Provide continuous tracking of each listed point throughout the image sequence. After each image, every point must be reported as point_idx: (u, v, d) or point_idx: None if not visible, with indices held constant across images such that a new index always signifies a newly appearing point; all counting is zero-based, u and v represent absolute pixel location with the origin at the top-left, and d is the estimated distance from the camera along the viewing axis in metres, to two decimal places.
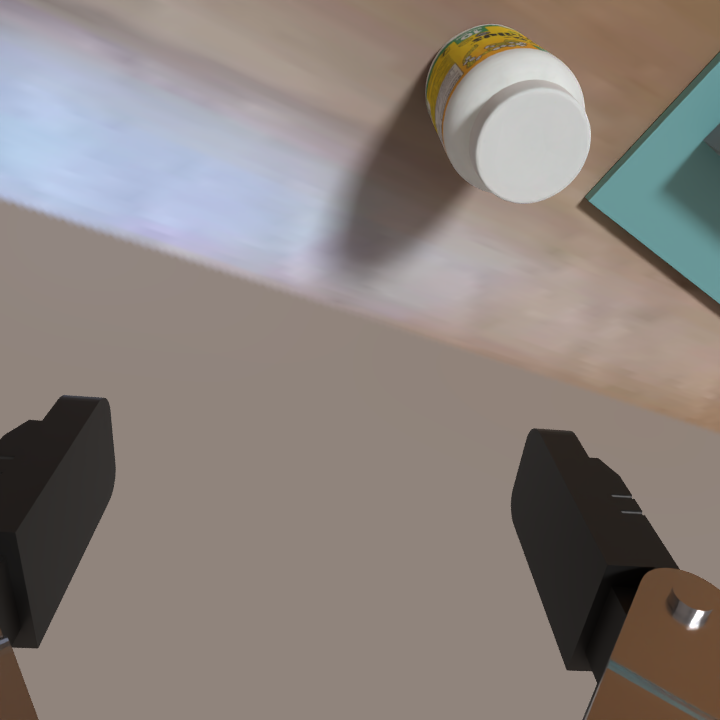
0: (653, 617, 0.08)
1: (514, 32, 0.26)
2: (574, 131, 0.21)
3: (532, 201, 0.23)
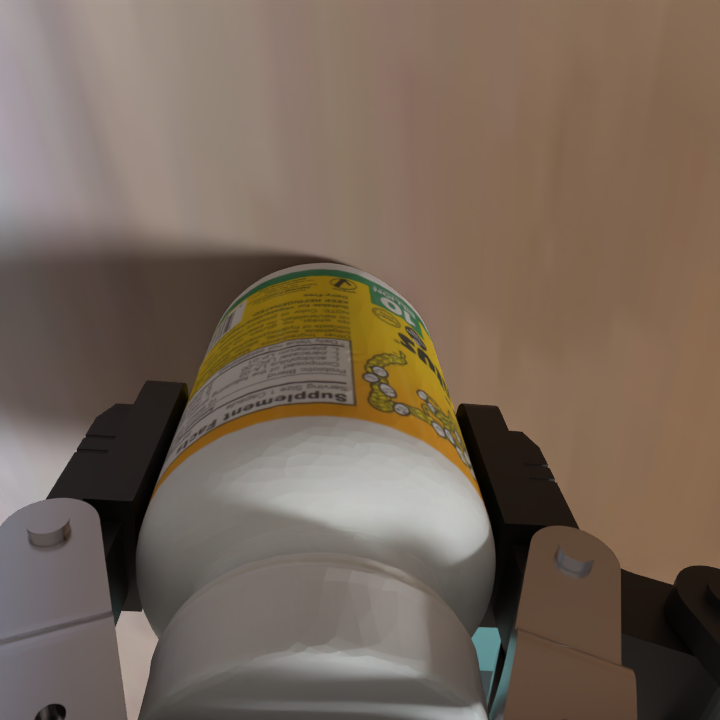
0: (546, 576, 0.08)
1: None
2: None
3: None
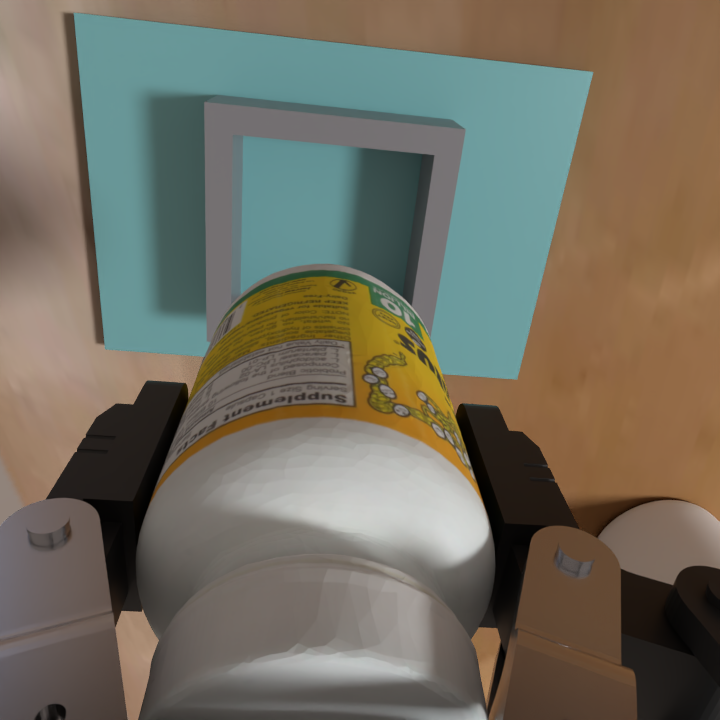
0: (546, 576, 0.08)
1: None
2: None
3: None
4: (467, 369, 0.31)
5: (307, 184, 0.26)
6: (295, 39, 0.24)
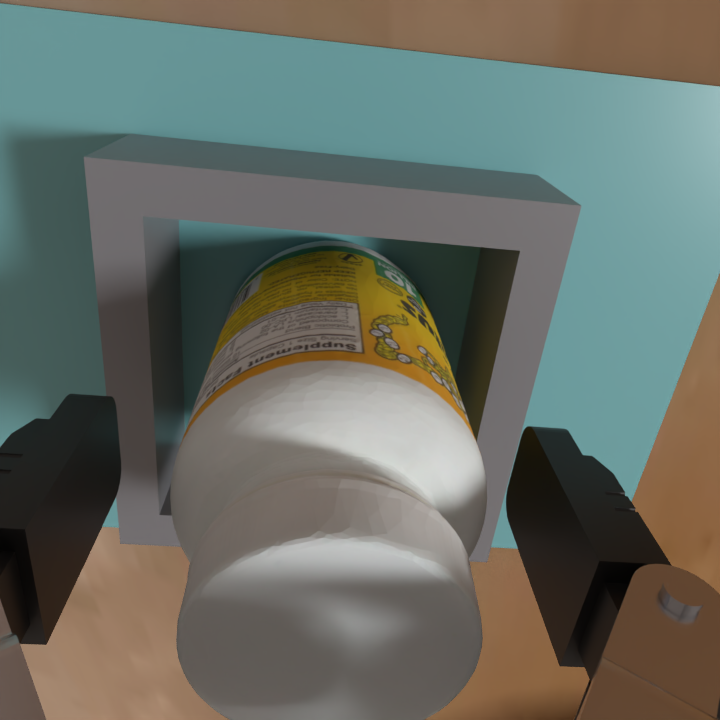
0: (644, 613, 0.08)
1: None
2: (417, 695, 0.09)
3: (223, 713, 0.09)
4: None
5: None
6: (265, 36, 0.13)
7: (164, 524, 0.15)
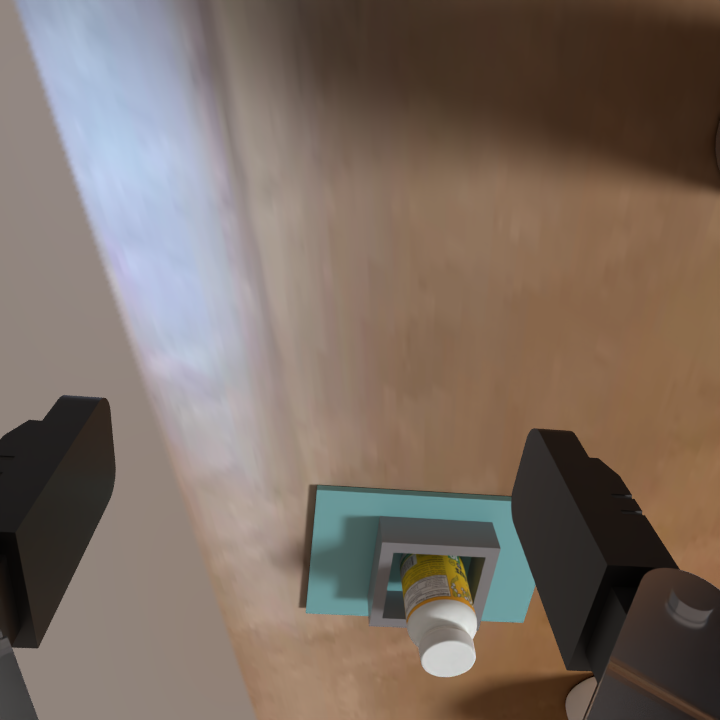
0: (653, 617, 0.08)
1: (465, 574, 0.51)
2: (463, 667, 0.46)
3: (426, 670, 0.46)
4: (496, 618, 0.57)
5: None
6: (419, 496, 0.50)
7: (383, 620, 0.53)
